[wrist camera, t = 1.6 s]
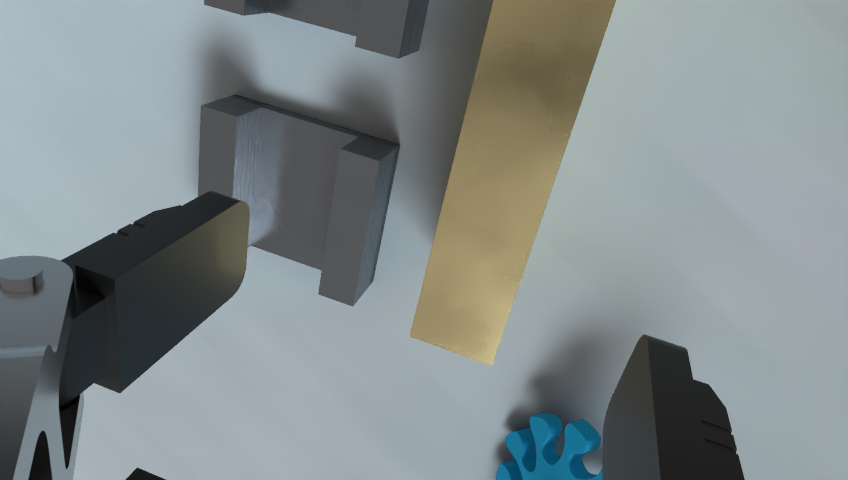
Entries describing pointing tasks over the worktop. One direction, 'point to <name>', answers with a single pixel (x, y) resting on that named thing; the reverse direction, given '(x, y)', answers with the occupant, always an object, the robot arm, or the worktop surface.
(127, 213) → the worktop surface
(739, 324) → the worktop surface
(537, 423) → the gear
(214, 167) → the grey u-channel block
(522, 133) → the link bar
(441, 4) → the worktop surface
